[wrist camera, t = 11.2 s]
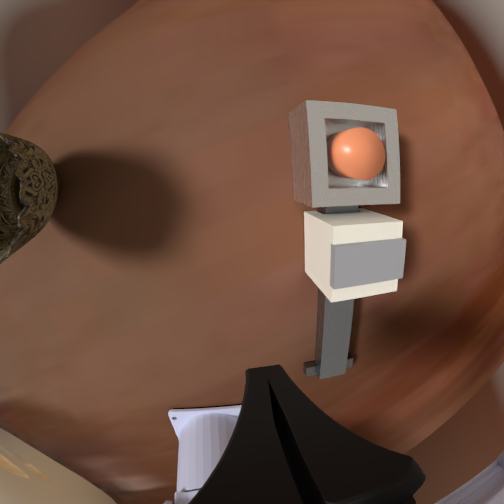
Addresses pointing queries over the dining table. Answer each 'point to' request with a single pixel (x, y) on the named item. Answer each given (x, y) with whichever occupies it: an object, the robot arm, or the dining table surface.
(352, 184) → the button housing
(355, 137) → the button
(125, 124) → the dining table surface
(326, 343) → the rail
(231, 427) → the robot arm
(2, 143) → the cup
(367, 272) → the block
